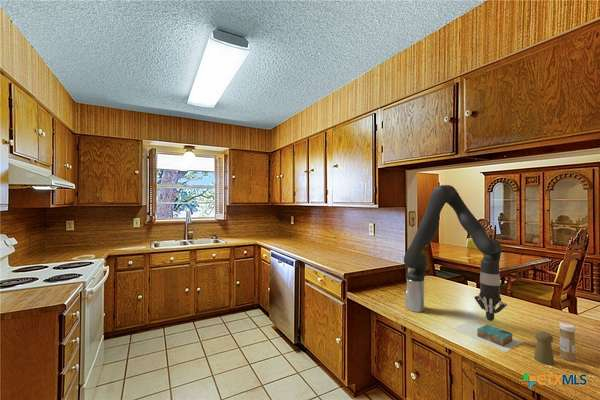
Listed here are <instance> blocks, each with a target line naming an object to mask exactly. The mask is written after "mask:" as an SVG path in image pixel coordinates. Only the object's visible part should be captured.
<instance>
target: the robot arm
mask: <svg viewBox="0 0 600 400" xmlns="http://www.w3.org/2000/svg"><path fill="white" fill-rule="evenodd" d="M446 204H447V205H449V206H450V208H452V209H453V211H454V212H455V214H456V216H457V219H458V221H459V224H460V226H462V228H463V230H465V231H466V233H467V234H468V235H469V236H470V237H471V240H472V241H473V243H474V245H475V247H476V248H477V250H478V251H479V252H481V254H483V256H482V257H483V258H482V259H481V261H480V275H479V287H480V288H479V295H475V296H474V298H473V299H474V300H475V302H476V303H477V304H478V306H479V307H480V309H481V310H484V311H485V318H486V320H487V321H489V322H493V321H494V320H495V314H499V313H500V312H501V311H502V310H504V309H505V308H506V307H507V306H508V304H507V303H506V302H505V303H504V302H503V301H502V297H501V276H500V261H501V255H502V244H501V242H500V241H499V240H497V239H496V238H491V237H489V236H488V234H487V232H486V228H485V227H484V226H483V224H482V223H481V222H480V221H479V220H478V219H477V217H475V215H474V214H473V213H472V212H471V210H470V208H469V207H468V206H467V205H466V203H465V202H464V200H463V199H462V197H461V196H460V194H459V192H458V191H457V189H456V188H455V187H454V186H453V185H450V184H441V185H437V186H436V187H434V188H433V189H432V192H431V193H430V197H429V200H428V204H427V207H426V209H425V211H424V214H423V216H422V219H421V221H420V223H419V225H418V228H417V230H416V233H415V235H414V237H413V239H412V241H411V243H410V245H409V247H408V248H407V250H406V252H405V254H404V256H403V264H404V266H405V267H406V268H408V269H410V271H408V272H407V274H406V291H405V294H404V295H405V304H404V305H405V308H406V309H407V310H409V311H411V312H416V313H422V312H425V277H426V274H427V273H426V272H427V258H426V256H425V253H423V252H422V251H423V250H424V248H426V246H428V245H429V244H430V243H431V242H432V241H433V239H434V238H435V237H436V234H437V232H438V230H439V228H440V216H441V212H442V210H443V208H444V206H445V205H446ZM497 305H498V307H497Z"/></svg>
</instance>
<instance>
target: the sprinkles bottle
mask: <svg viewBox="0 0 600 400" xmlns="http://www.w3.org/2000/svg"><path fill="white" fill-rule="evenodd" d="M558 324H559V325H558V327H559V356H560V358H562V359H563V360H565V361H567V362H568V361H570V362H575V361H576V340H575V339H576V336H575V335H576V325H573V324H571V323H569V322H568V323H567V322H559V323H558Z"/></svg>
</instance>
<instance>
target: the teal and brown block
mask: <svg viewBox="0 0 600 400" xmlns="http://www.w3.org/2000/svg"><path fill="white" fill-rule="evenodd" d="M481 326H482V325H481ZM477 336H478V337H480V338H483V339H485V340H488V341H490V342H492V343H495V344H497V345H500V346H502V347H503V346H504V345H506V344H508V343H510V342H512V338H513V332H511V331H508V330H505V329H501V328H499V327H496V326H494V325H491V324H489V323H486V324H485V325H483V326H482V327H480V328H478V329H477Z"/></svg>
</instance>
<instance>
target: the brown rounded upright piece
mask: <svg viewBox="0 0 600 400" xmlns="http://www.w3.org/2000/svg"><path fill="white" fill-rule="evenodd" d="M534 335H535V338H536V344H535V349H534V354H533V355H534V356H533V359H534V361H537V362H538V363H540V364H543V365H545V366H554V365H555V364H556V363H555V358H554V353H553V347H552V343H553V342H554V338H553V336H552V334H551V333H548V332H546V331H544V330H543V331H542V330H537V331H536V332H535V333H534Z"/></svg>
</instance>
